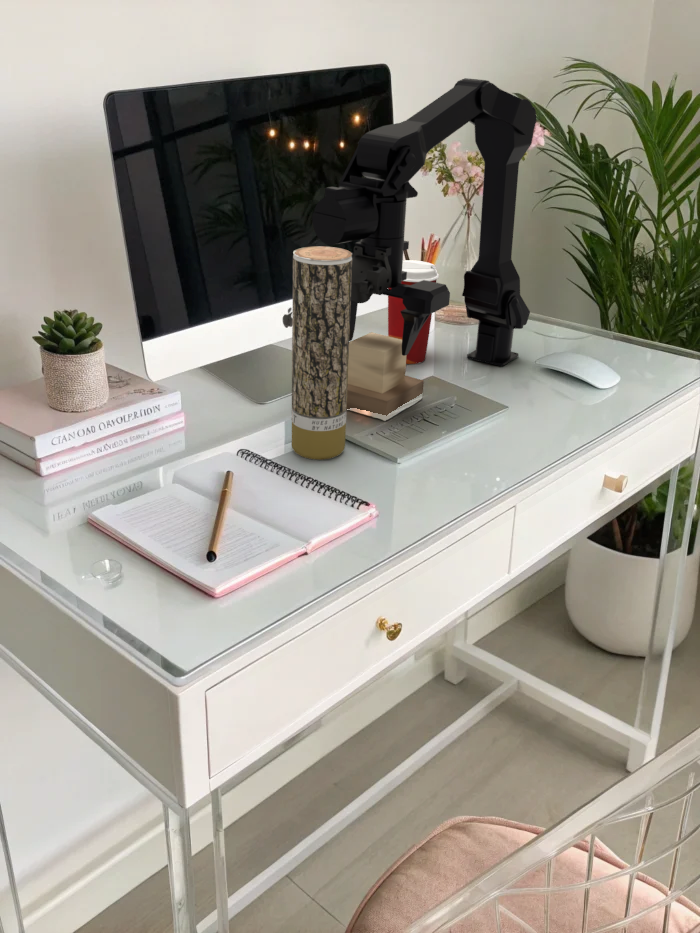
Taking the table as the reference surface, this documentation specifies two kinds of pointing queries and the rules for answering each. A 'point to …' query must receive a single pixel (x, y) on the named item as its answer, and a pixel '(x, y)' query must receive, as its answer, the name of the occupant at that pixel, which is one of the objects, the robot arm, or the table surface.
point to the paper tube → (320, 350)
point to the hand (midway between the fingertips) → (376, 347)
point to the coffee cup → (395, 320)
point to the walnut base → (384, 396)
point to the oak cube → (376, 362)
